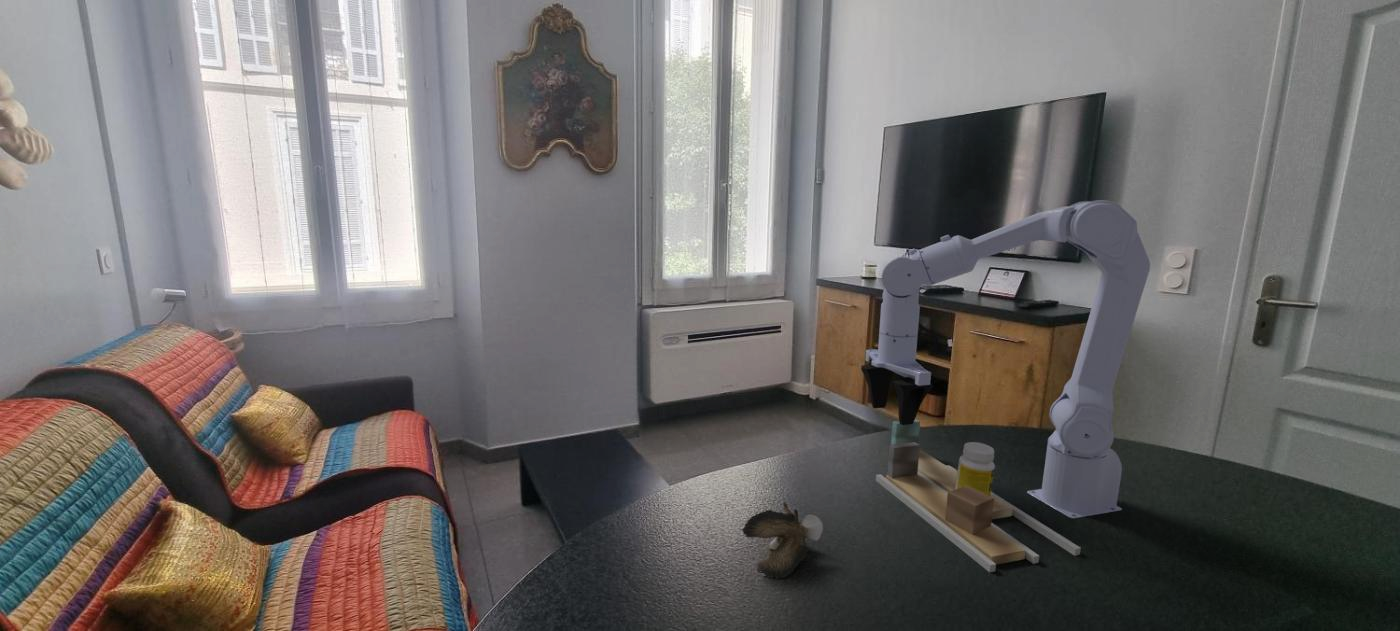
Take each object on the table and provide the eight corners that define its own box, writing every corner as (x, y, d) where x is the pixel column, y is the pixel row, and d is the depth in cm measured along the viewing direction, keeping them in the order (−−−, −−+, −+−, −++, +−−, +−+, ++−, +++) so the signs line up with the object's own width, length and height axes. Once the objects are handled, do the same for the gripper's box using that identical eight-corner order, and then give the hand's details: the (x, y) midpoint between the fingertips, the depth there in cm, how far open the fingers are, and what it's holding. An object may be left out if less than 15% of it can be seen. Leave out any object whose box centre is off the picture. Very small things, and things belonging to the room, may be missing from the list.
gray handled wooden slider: (913, 478, 91) (916, 441, 90) (1024, 559, 70) (1030, 512, 69) (885, 482, 90) (888, 445, 89) (991, 565, 69) (996, 518, 68)
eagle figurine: (766, 520, 77) (728, 537, 70) (797, 486, 75) (761, 500, 68) (804, 569, 74) (768, 592, 67) (839, 534, 71) (804, 555, 64)
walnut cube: (963, 512, 79) (966, 485, 78) (991, 526, 75) (994, 498, 75) (945, 520, 77) (947, 492, 76) (972, 534, 73) (975, 505, 73)
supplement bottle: (993, 511, 82) (1002, 457, 80) (958, 507, 82) (966, 453, 81) (983, 494, 86) (991, 442, 84) (950, 490, 87) (957, 438, 85)
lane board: (948, 473, 94) (949, 465, 94) (1079, 558, 71) (1080, 547, 71) (875, 483, 91) (876, 474, 90) (989, 576, 68) (990, 565, 68)
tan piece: (913, 452, 101) (916, 418, 100) (1011, 516, 80) (1016, 474, 79) (889, 455, 100) (891, 421, 98) (982, 520, 79) (986, 479, 78)
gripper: (851, 325, 96) (847, 402, 98) (904, 345, 82) (897, 434, 85) (888, 323, 98) (882, 399, 100) (945, 342, 84) (937, 430, 87)
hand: (892, 415), depth 93 cm, fingers open, 7 cm apart
